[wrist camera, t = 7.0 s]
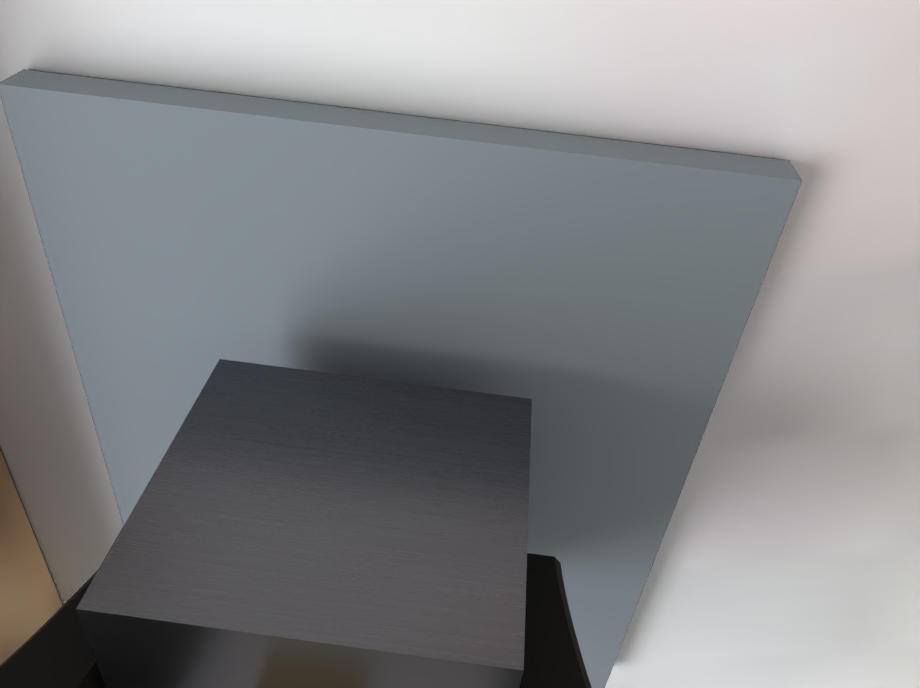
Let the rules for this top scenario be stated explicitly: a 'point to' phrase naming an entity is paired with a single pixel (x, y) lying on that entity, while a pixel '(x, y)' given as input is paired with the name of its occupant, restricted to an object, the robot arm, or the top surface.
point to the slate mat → (408, 285)
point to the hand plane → (21, 573)
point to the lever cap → (323, 540)
